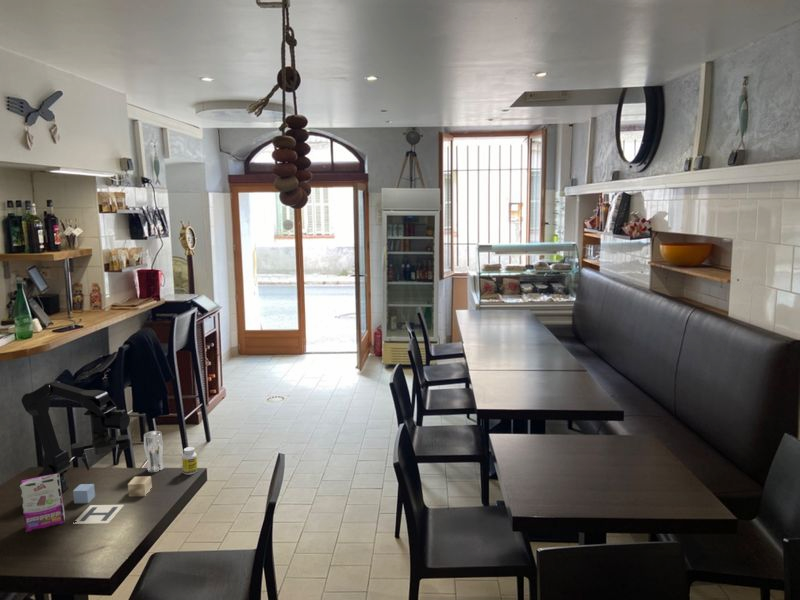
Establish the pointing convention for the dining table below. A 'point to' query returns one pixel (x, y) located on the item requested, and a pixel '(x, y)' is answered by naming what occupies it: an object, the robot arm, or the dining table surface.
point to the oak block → (139, 486)
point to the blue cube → (84, 493)
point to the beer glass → (154, 450)
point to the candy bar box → (42, 502)
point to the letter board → (98, 514)
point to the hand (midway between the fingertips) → (102, 467)
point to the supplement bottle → (189, 461)
